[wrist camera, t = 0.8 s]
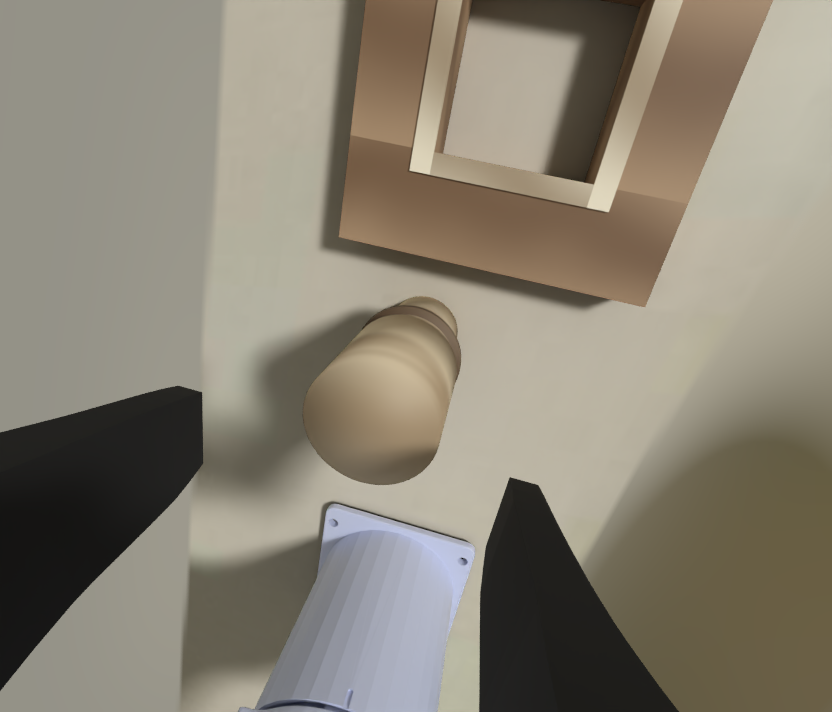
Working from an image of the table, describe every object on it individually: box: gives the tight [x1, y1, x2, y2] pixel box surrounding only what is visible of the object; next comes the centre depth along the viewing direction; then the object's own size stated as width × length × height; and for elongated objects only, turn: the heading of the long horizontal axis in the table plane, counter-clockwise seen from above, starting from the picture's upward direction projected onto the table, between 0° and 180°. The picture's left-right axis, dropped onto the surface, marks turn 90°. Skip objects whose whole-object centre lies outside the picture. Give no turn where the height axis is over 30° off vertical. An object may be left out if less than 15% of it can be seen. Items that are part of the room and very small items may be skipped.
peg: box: [303, 296, 461, 485], centre depth 15 cm, size 4×4×8 cm
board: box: [339, 0, 773, 307], centre depth 14 cm, size 12×11×2 cm
